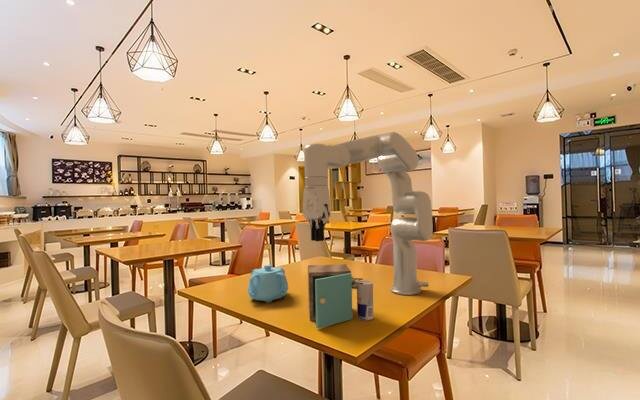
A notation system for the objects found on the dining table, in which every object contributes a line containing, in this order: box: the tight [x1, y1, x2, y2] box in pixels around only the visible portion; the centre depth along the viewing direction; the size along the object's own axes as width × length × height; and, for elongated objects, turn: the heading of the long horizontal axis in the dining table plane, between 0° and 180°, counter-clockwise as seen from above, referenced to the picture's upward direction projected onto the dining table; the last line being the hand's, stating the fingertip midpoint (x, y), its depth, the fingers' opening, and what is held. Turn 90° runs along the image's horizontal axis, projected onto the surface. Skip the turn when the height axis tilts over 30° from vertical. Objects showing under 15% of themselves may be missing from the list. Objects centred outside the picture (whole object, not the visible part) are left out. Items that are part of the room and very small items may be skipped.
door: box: [315, 272, 353, 330], centre depth 105 cm, size 14×2×15 cm, turn 124°
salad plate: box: [352, 276, 364, 289], centre depth 154 cm, size 19×18×5 cm
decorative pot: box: [247, 264, 289, 303], centre depth 135 cm, size 16×16×14 cm
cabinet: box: [307, 263, 352, 322], centre depth 115 cm, size 14×12×16 cm
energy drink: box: [356, 280, 374, 322], centre depth 110 cm, size 5×5×12 cm
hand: (317, 240), depth 105 cm, fingers closed
